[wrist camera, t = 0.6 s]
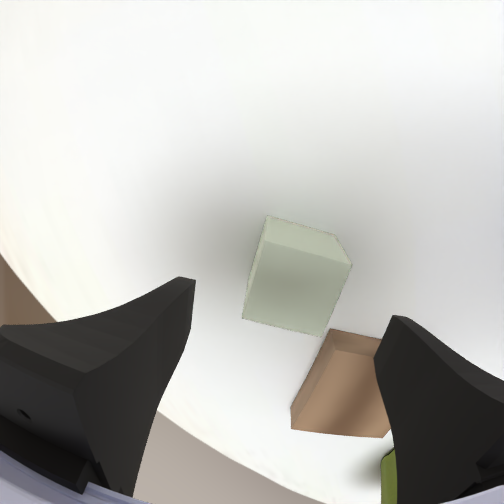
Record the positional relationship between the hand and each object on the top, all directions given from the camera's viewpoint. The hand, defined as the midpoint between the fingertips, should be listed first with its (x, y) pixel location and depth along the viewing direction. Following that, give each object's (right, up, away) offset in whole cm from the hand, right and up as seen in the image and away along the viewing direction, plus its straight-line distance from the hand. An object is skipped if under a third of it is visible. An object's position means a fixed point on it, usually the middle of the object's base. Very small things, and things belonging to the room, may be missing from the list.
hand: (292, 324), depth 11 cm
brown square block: (+7, -8, +14) cm, 18 cm away
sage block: (+1, +2, +10) cm, 10 cm away
